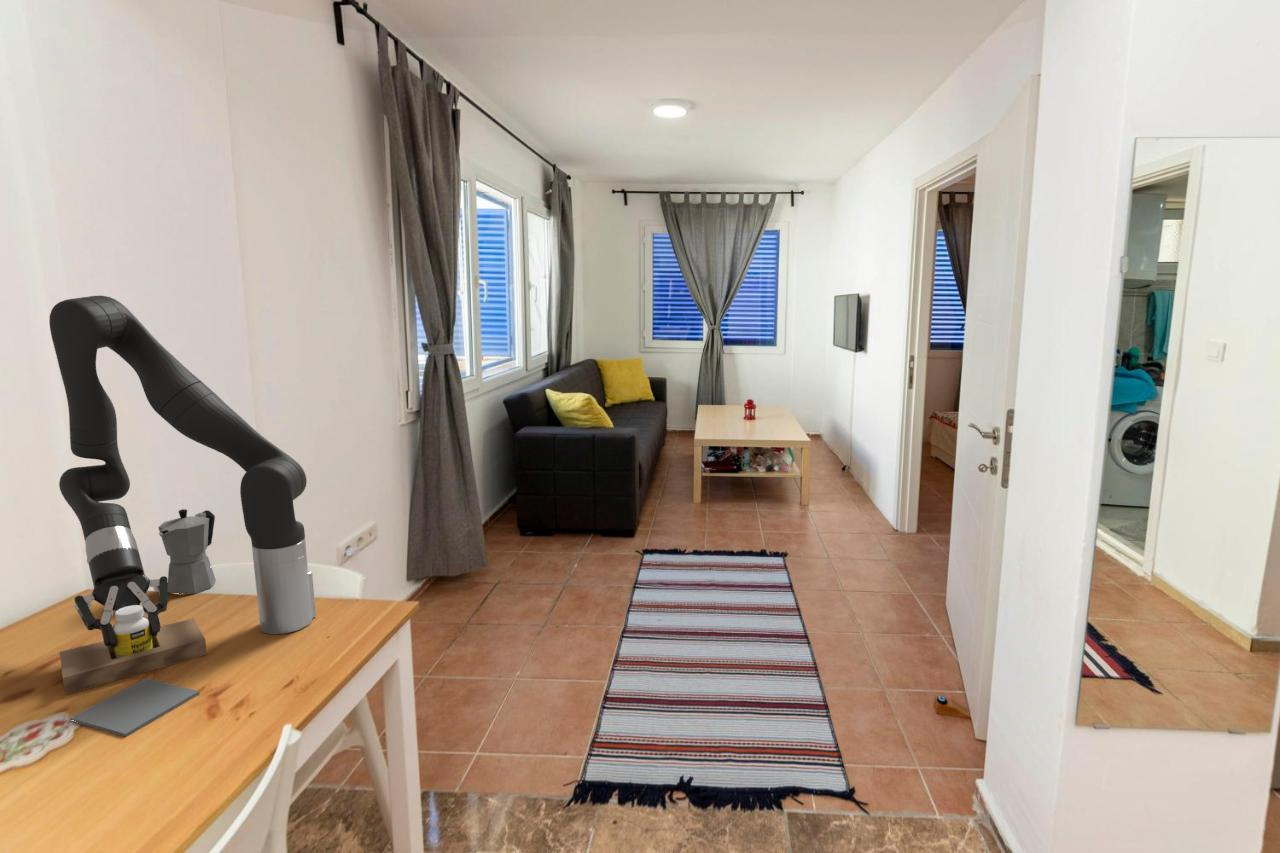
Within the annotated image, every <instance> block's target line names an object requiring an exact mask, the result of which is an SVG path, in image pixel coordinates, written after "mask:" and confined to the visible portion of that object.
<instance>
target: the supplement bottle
mask: <svg viewBox="0 0 1280 853" xmlns="http://www.w3.org/2000/svg"><path fill="white" fill-rule="evenodd" d="M144 614H145V612H144V611H143V607H142V606H140V605H132V606H127V607H123V608H121V609H119V610H117V611H114V617H115V621H116V622H115V623H114V624H113V626H112V629H113V633H114V637H115V641H116V647H115V655H116V658H120V657H124V656H127V655H131V654H135V653H138V652H142V651H146V650H150V649H153V645H152V637H151V629H150V622H149V619H148V617H146V616H144ZM116 658H115V659H116Z"/></svg>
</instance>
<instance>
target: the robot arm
mask: <svg viewBox="0 0 1280 853" xmlns="http://www.w3.org/2000/svg"><path fill="white" fill-rule="evenodd" d="M49 330H50V335H51V339H52V344H53V348H54V351H55V354H56V359H57V360H56V361H57V363H58V368H59V372H60V375H61V379H62V383H63V386H64V391H65V396H66V401H67V407H68V415H69V416H68V417H69V421H68V422H69V442H70V451H71V453H72V454H73V455H74V456H75V457H78V458H82V459H88V460H99V461H103V462H104V464H98V465H88V466H87V465H86V466H76V467H70V468H69V469H67V470H65V471H64V472H63V473H62V475H61V476H60V478H59V483H58V488H59V491H60V493H61V495H62V497H63V498H64V500H65V502H66V503H67V504H68V505H69V507H70V508H71V510H72V511H73V512H74V514H75V515H76V517H77V518H78V521H79V523H80V525H81V530H82V535H83V538H84V543H85V555H86V563H87V565H88V568H89V572H90V576H91V580H92V583H93V584H92V585H93V589H92V592H91V593H89V594H86V595H84V596H82V595H77V596H75V597H74V607H75V609H76V612H78V615H79V617H80V618H81V620H82V622H83V624H84V625H85V628H86V629H87V631H93V630H99V631H101V635H102V641H104V644H105V645H106V646H110V648H115V647H116V641H115V637H114V633H113V629H112V627H113V626H112V623H111V621H112V618H113V615H114V614H115V612H116V611H117V610H119V609H121V608H123V607H127V606H132V605H140V606H142V607H143V611H144V614H146V615H147V618H148V619H149V622H150V629H151V635H152V637H155V636H157V633H158V632H160V627H161V626H162V624H161V622H160V619H159V614H161V613H164V612H166V611H167V610H168V605H169V604H168V603H169V600H168V599H169V598H168V596H169V595H168V593H169V592H168V576H166V575H165V576H162V575H161V577H160V578H157V579H156V578H155V579H154V578H153V579H150V578H149V577H147V575H146V574H145V570H144V567H143V563H142V559H141V556H140V551H139V548H138V544H137V540H136V538H135V536H134V534H133V532H132V528H131V524H130V520H129V516H128V513H127V511H126V509H125V506H122V505H121V504H119V503H118V504H117V503H111V502H107V501H115V500H120V499H121V498H123V497H125V496H126V495H127V494H128V492H129V490H130V487H131V480H130V477H129V474H128V473H127V470H126V468H125V466H124V463H123V461H122V458H121V455H120V449H119V446H118V422H117V420H118V418H117V414H116V413H117V412H116V408H115V406H114V404H113V403H114V402H112V400H111V398H110V396H109V395H108V393H107V391H106V390H105V388H104V387H103V384H102V383H101V381H100V379H99V377H98V372H97V353H98V350H99V349H103V348H109V349H110V350H112V351H113V352H114V353H115V354H117V355H118V356H119V357H120V358H121V359H123V360H124V361H125V362H126V363H127V364H128V365H129V366H130V367H131V368H132V369H133V371H134V372H135V373H136V375H137V377H138V379H139V381H140V384H141V387H142V389H143V392H144V395H145V397H146V399H147V401H148V403H149V405H150V407H151V408H152V410H154V411H155V412H156V413H157V415H158V416H160V417H161V418H162V419H163V420H164V421H165V422H167V423H168V424H169V425H170V426H172V428H173V429H175V430H176V431H177V432H179V433H180V434H182V435H183V436H184V437H186V438H188V439H190V440H191V441H194V442H195V443H199V444H201V445H202V446H204V447H207V448H209V449H211V450H214V451H215V452H218V453H221V454H223V455H224V456H226V457H227V458H229V459H230V460H232V461H233V462H235V464H237V465H238V466H239V467H240V468H242V469H243V471H245V473H244V475H243V476H242V477H241V482H240V487H239V488H240V490H239V491H240V492H239V494H240V501H241V502H240V503H241V509H242V515H243V522H244V526H245V530H246V533H247V534H248V536H249V538H250V541H251V551H252V560H253V570H254V579H255V580H254V581H255V589H256V598H257V607H258V608H257V609H258V617H259V627H260V631H261V632H263V633H264V634H268V635H284V634H287V633H292V632H296V631H297V632H298V631H299V630H301V629H304V628H305V627H307V626H308V625H310V624H311V623H312V621H313V618H315V617H316V616H317V612H316V602H315V590H314V578H313V572H312V571H310V570H309V567H308V565H309V564H308V556H307V555H308V554H307V545H306V532H305V526H304V524H303V523H302V522H300V521H298V520H297V519H296V514H295V508H294V507H295V506H294V501H295V500H296V499H298V497H300V496H301V495H302V494H303V493H304V491H305V490H306V487H307V475H306V473H305V472H306V471H305V470H304V468H303V467H302V465H300V463H298V462H297V461H296V460H295V459H294V458H292V457H291V456H290V455H288V453H286V452H284V451H283V450H282V449H280V448H279V447H278V446H277V445H275V444H274V443H272V442H271V441H269V440H268V439H267V438H266V437H265V436H263V435H261V434H260V433H259V432H258V431H256V429H255V428H253V427H252V426H251V425H250V424H249V423H248V422H247V421H246V420H245V419H244V418H242V417H241V416H240V415H239V414H238V413H237V412H236V411H234V409H232V408H231V407H230V406H229V405H228V404H227V403H225V401H224V400H222V399H221V397H220V396H219V395H217V394H216V393H215V392H214V391H213V390H212V389H211V388H209V386H207V385H206V384H205V383H204V382H203V381H202V380H201V379H199V378H198V376H196V375H194V373H192V372H191V371H190V370H189V369H188V368H187V367H186V366H185V365H183V363H181V362H180V361H179V360H178V359H177V358H176V357H175V356H174V355H173V354H171V352H169V351H168V350H167V349H166V348H165V347H164V346H163V345H162V344H161V343H160V342H159V341H158V340H157V339H156V338H155V337H154V336H153V334H151V333H150V331H149V330H148V329H147V328H146V327H145V326H144V325H143V323H141V321H140V320H139V319H138V318H137V317H136V316H135V315H134V314H133V313H132V311H130V310H129V309H128V307H126V306H125V305H124V304H123V303H122V302H120V301H118V300H117V299H115V298H112V297H111V296H106V295H91V296H83V297H76V298H69V299H64V300H62V301H61V300H60V301H59V302H58V303H56V304H55V305H54V306H53V307H52V309H51V310H50V314H49ZM150 587H151V588H153V590H154V591H155V592H158V603H156V604H154V603H153V602H152V601H151V599H150V598H149V596H148V595H147V594H146V593H147V592H148V590H149V588H150ZM93 601H95V602H97V603H98V604H100V605H102V606H104V608H103V613H102V616H101V619H100V618H95V616H94V614H93V613H92V611H91V609H90V608H91V607H92V602H93Z"/></svg>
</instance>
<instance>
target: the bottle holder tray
mask: <svg viewBox="0 0 1280 853" xmlns="http://www.w3.org/2000/svg"><path fill="white" fill-rule="evenodd" d="M151 637H152V635H151ZM152 645H153V649H150V650H146V651H142V652H138V653H135V654H131V655H127V656H124V657H120V658H116V655H115V648H110V646H106V645H105V644H104V640H102V641H98V642H95V643H94V642H93V643H89V644H87V645H81V646H79V647H75V648H71V649H67V650H62V651H59V658H60V659H59V660H60V666H61V675H62V681H63V688H64V692H65V693H64V694H65V696H67V695H71V694H73V693H77V692H80V691H84V690H87V689H92V688H94V687H95V688H96V687H99V686H101V685H104V684H108V683H112V682H115V681H119V680H122V679H126V678H130V677H133V676H137V675H140V674H143V673H146V672H151V671H153V670H157V669H160V668H165V667H168V666H170V665H171V666H172V665H175V664H178V663H181V662H182V663H183V662H185V661H189V660H192V659H196V658H199V657H202V656H206V655H207V654H208V652H207V651H208V650H207V646H206V645H207V644H206V638H205V635H203V633H202V631H201V629H200V627H199V625H198V623H197V622H196V620H195V618H194V617H192V618H188V619H185V620H182V621H177V622H173V623H169V624H165V625H161V627H160V632H158V633H157V636H155V637H152Z"/></svg>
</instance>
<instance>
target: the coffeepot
mask: <svg viewBox="0 0 1280 853" xmlns="http://www.w3.org/2000/svg"><path fill="white" fill-rule="evenodd" d="M178 514H179V517H178V518H174V519H170V520H167V521H164V522H163V523H161V524H159V526H158V531H159V533H158V535H159V536H160V537H161V540H162V543H163V546H164V549H165V552H166V555H167V556H169V560H170V561H169V564H168V573H167V583H168V593H169V594H170V593H179V594H182V593H183V594H188V593H189V594H190V595H194V594H199V593H202V592H205V591H207V590H209V589H211V588H213V587H214V585H215V583H216V581H217V580H216V577H215V573H214V571H213V570H214V569H213V568H210V566H211V567H212V565H211V560H210V558H209V556H208V555H207V554H206V553H207V552H206V550H207V548H208V547H209V546H210V545H212V542H213V535H214V526H215V522H216V519H215V518H216V517H215V514H214V513H213V512H212V511H210V510H207V509H206V510H204V511H201V512H199V513H196V514H194V516H188V509H183V508H182V509H179V510H178Z"/></svg>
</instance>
